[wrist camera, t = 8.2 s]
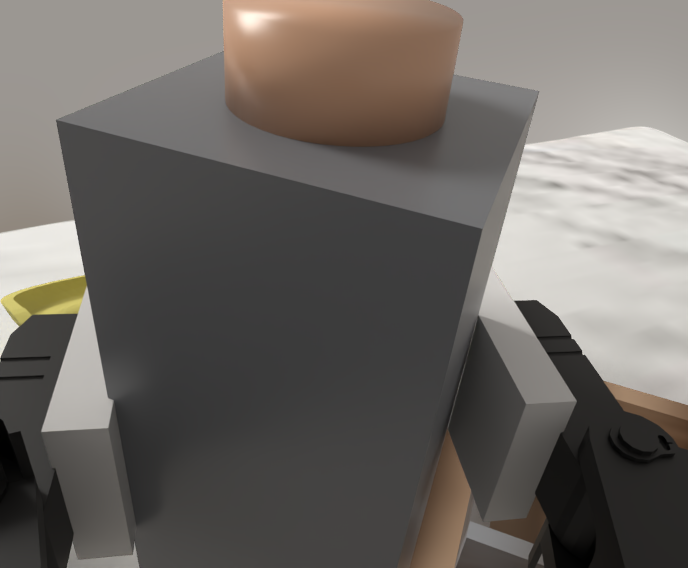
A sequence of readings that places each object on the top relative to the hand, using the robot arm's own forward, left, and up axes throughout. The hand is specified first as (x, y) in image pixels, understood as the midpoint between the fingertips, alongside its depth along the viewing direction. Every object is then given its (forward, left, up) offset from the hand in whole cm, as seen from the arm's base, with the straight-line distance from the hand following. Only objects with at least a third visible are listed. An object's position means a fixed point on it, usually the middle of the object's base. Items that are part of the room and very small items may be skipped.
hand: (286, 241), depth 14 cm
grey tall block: (+2, -5, -7) cm, 9 cm away
